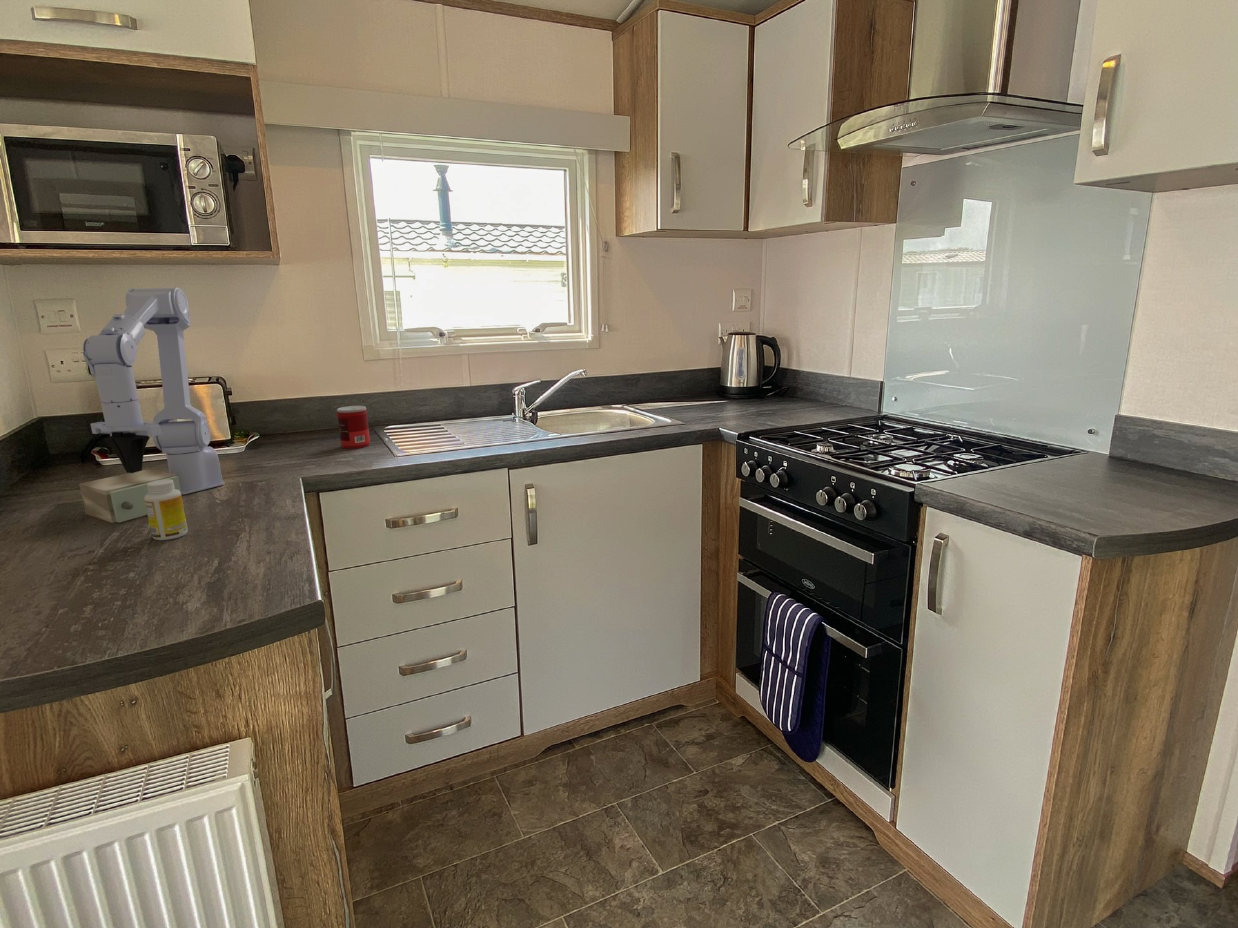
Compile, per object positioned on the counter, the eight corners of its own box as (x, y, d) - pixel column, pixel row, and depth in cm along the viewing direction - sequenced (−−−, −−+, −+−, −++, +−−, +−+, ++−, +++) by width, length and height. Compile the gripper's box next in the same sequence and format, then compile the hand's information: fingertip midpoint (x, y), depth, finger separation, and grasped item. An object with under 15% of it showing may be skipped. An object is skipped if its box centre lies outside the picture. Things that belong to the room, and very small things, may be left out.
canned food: (375, 442, 199) (370, 405, 196) (362, 449, 191) (357, 410, 188) (349, 442, 199) (345, 405, 197) (336, 449, 192) (331, 410, 189)
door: (180, 503, 143) (175, 476, 141) (187, 505, 142) (181, 477, 140) (116, 521, 132) (109, 492, 131) (122, 523, 131) (116, 493, 130)
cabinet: (155, 497, 149) (149, 468, 147) (182, 504, 143) (176, 474, 142) (85, 514, 138) (79, 483, 137) (112, 522, 133) (105, 490, 131)
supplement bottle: (194, 530, 127) (184, 477, 125) (178, 540, 122) (168, 485, 120) (162, 531, 127) (152, 478, 124) (145, 542, 122) (134, 487, 119)
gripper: (68, 403, 124) (84, 475, 128) (129, 405, 120) (144, 479, 124) (106, 397, 131) (120, 465, 134) (165, 399, 127) (178, 469, 130)
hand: (134, 471), depth 130 cm, fingers closed
